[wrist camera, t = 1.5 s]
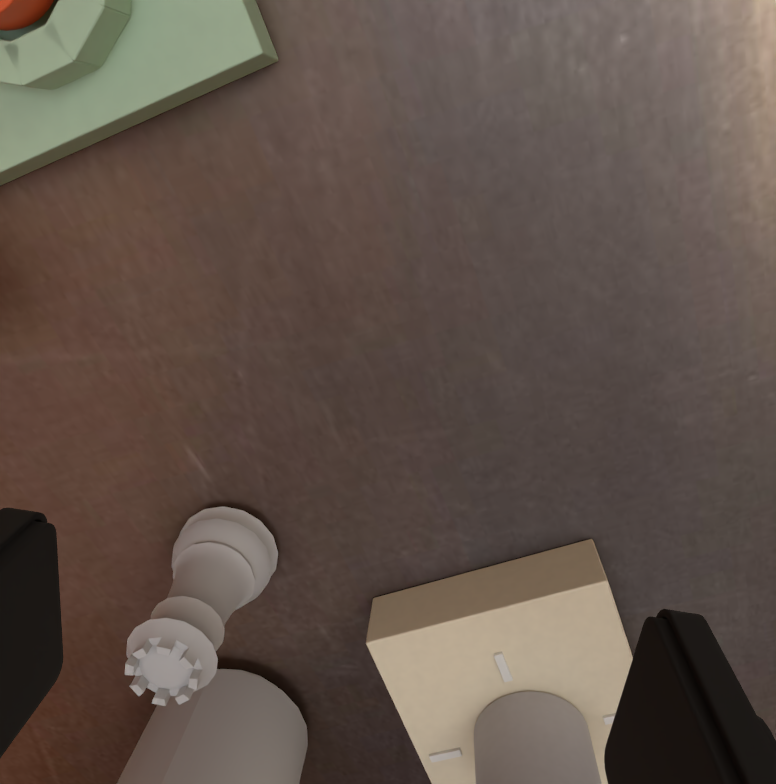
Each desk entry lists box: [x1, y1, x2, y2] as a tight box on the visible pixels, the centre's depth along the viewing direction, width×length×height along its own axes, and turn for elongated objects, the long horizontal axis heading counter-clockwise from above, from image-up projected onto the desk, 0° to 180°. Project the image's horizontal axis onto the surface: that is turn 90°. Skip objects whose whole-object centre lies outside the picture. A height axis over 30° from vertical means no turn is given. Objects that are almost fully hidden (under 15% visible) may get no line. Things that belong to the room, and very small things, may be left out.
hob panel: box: [366, 539, 633, 784], centre depth 30 cm, size 10×13×3 cm
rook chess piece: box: [125, 506, 278, 706], centre depth 27 cm, size 4×4×8 cm
